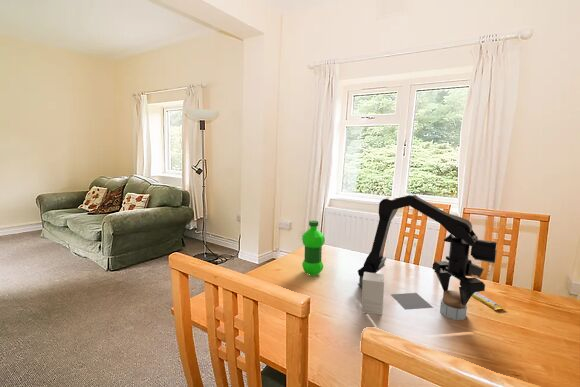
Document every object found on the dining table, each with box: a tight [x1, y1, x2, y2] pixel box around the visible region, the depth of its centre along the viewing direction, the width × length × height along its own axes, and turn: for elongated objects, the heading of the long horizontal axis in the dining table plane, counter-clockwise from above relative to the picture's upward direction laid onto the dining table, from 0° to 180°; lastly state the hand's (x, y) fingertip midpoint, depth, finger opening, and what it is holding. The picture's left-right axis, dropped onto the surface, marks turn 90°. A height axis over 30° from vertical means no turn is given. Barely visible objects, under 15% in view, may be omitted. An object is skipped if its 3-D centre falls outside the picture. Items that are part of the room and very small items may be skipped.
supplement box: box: [361, 272, 385, 316], centre depth 104 cm, size 7×7×13 cm
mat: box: [390, 292, 434, 310], centre depth 110 cm, size 11×11×1 cm
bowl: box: [439, 297, 468, 321], centre depth 101 cm, size 8×8×4 cm
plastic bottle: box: [301, 220, 326, 276], centre depth 133 cm, size 10×10×25 cm
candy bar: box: [471, 292, 505, 311], centre depth 112 cm, size 17×4×2 cm, turn 12°
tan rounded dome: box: [442, 289, 466, 308], centre depth 101 cm, size 7×7×3 cm
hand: (454, 298), depth 100 cm, fingers open, 9 cm apart
